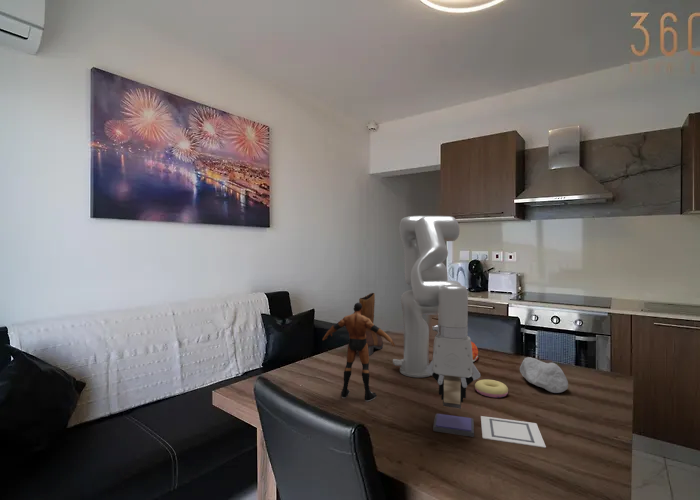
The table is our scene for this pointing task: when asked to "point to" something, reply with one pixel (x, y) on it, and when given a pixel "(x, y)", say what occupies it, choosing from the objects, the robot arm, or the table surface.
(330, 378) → the table surface
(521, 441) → the sheet
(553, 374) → the decorative stone
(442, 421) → the ink pad
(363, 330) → the figurine
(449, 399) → the beige cardboard box
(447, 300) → the robot arm
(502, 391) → the donut
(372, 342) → the boot
